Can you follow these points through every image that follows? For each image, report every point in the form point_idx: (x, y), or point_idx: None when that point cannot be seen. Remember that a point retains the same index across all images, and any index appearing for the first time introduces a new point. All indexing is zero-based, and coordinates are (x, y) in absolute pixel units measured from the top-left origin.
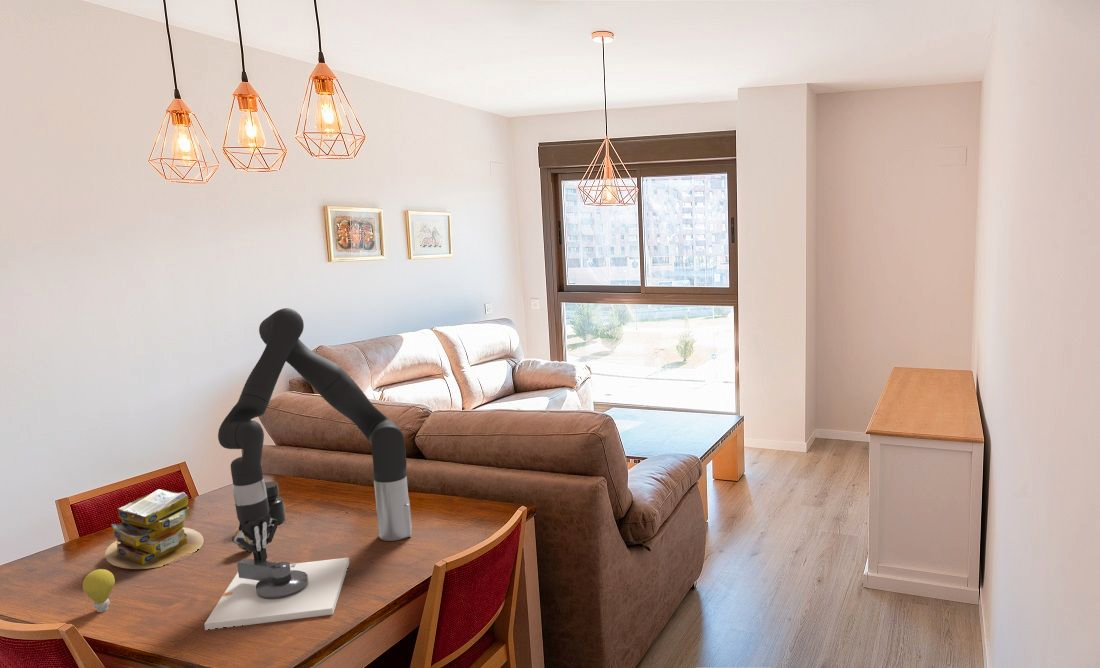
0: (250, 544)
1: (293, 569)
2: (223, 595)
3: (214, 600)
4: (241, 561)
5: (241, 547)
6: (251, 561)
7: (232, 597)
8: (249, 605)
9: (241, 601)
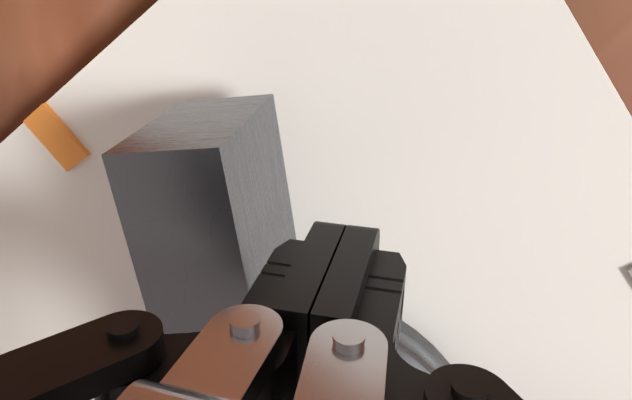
0: (177, 376)
1: (583, 317)
2: (30, 126)
3: (27, 21)
4: (143, 185)
5: (12, 355)
6: (199, 296)
7: (57, 210)
8: None
9: (63, 307)
